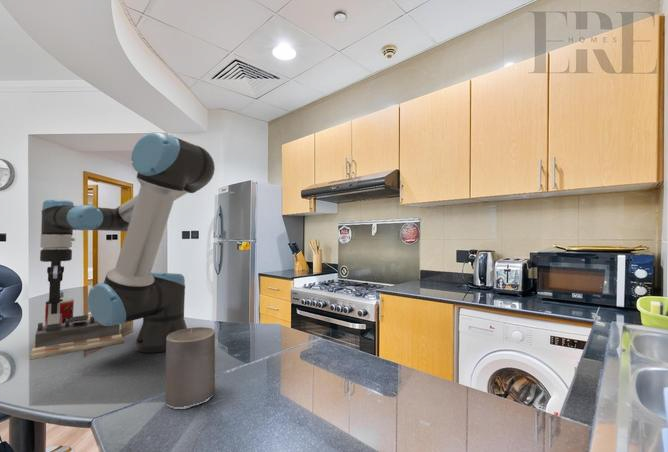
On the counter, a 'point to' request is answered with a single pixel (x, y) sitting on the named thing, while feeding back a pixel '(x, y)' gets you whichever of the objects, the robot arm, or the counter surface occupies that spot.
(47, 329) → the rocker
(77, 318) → the rocker middle
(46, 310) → the canned food
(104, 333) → the switch unit
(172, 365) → the pillar candle
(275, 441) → the counter surface
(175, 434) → the counter surface
